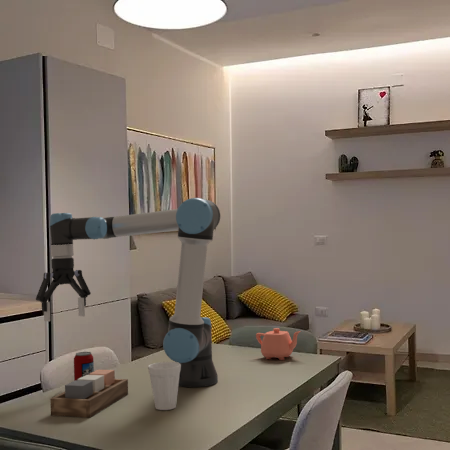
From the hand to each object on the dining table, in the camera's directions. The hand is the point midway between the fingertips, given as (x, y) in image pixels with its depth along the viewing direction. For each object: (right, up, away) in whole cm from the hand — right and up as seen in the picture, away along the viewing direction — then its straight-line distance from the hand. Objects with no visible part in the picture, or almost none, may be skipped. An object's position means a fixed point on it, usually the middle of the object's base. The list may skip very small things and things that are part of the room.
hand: (64, 318), depth 214 cm
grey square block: (+11, -19, -27) cm, 35 cm away
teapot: (+78, -23, +41) cm, 91 cm away
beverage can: (+6, -25, +2) cm, 25 cm away
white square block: (+14, -19, -20) cm, 31 cm away
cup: (+38, -23, -27) cm, 52 cm away
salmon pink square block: (+16, -19, -13) cm, 28 cm away
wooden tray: (+14, -24, -20) cm, 34 cm away
